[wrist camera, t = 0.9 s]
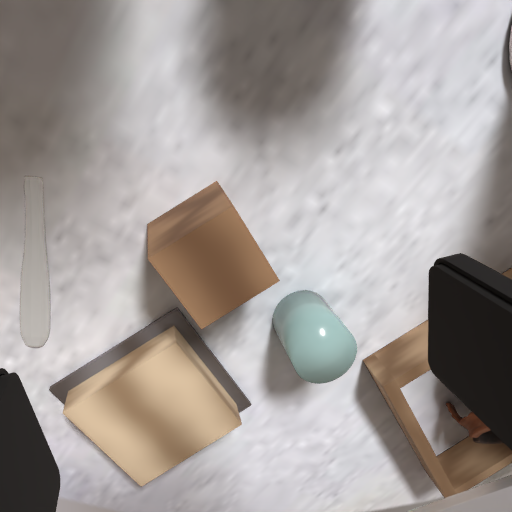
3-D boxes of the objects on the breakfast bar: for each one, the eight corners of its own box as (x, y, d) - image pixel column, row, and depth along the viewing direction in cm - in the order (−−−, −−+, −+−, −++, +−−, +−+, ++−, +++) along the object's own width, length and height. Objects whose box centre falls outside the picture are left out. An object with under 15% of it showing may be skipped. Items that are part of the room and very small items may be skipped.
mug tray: (530, 256, 42) (566, 273, 39) (567, 383, 50) (600, 407, 46) (362, 360, 42) (383, 386, 39) (425, 471, 50) (447, 502, 47)
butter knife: (6, 347, 34) (48, 349, 35) (0, -71, 25) (56, -58, 26) (8, 343, 35) (50, 345, 35) (3, -68, 26) (58, -55, 27)
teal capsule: (312, 279, 38) (340, 313, 33) (336, 321, 40) (366, 360, 35) (262, 311, 38) (281, 350, 33) (288, 351, 40) (311, 394, 35)
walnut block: (216, 180, 33) (233, 205, 27) (256, 244, 36) (279, 280, 29) (147, 223, 33) (147, 259, 27) (191, 284, 36) (201, 329, 29)
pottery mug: (537, 352, 48) (575, 431, 43) (450, 379, 53) (476, 454, 47) (503, 309, 41) (545, 399, 35) (406, 345, 45) (431, 429, 40)
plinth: (177, 307, 36) (179, 326, 33) (250, 402, 41) (257, 425, 39) (50, 386, 36) (42, 411, 33) (138, 471, 41) (138, 499, 39)
